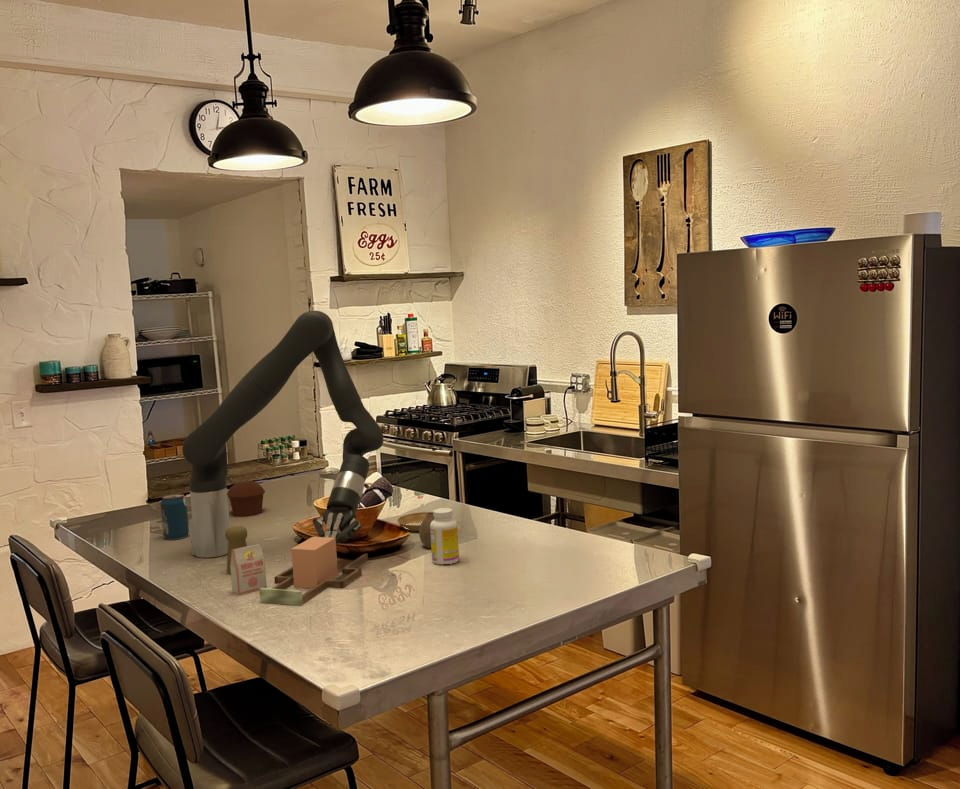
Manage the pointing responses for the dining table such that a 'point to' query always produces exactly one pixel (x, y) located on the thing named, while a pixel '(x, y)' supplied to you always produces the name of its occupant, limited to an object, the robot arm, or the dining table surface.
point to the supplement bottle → (444, 537)
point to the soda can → (174, 516)
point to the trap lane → (296, 597)
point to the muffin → (246, 498)
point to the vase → (426, 530)
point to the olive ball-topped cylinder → (235, 541)
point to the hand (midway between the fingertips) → (326, 555)
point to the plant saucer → (412, 520)
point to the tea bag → (248, 569)
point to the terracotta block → (314, 561)
